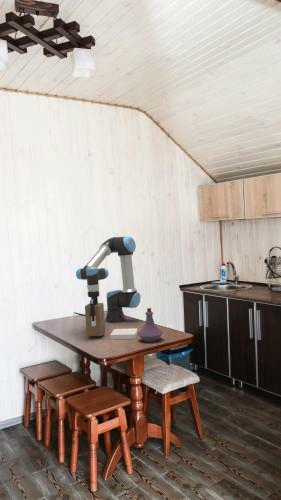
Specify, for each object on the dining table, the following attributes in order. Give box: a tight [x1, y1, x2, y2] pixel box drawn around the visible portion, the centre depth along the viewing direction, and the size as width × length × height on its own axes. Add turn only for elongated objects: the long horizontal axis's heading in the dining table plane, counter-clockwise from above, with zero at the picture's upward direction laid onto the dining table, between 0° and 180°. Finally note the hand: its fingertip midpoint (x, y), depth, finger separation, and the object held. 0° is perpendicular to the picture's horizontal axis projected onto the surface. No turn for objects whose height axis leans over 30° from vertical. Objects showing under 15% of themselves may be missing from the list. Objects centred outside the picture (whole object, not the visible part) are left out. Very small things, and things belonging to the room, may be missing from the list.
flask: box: [137, 307, 164, 343], centre depth 272 cm, size 16×16×20 cm
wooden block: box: [84, 302, 106, 337], centre depth 287 cm, size 10×10×20 cm
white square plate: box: [109, 327, 139, 341], centre depth 286 cm, size 16×16×3 cm
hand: (95, 323), depth 288 cm, fingers closed on wooden block, 10 cm apart
